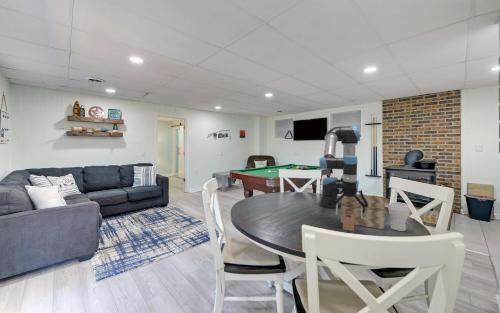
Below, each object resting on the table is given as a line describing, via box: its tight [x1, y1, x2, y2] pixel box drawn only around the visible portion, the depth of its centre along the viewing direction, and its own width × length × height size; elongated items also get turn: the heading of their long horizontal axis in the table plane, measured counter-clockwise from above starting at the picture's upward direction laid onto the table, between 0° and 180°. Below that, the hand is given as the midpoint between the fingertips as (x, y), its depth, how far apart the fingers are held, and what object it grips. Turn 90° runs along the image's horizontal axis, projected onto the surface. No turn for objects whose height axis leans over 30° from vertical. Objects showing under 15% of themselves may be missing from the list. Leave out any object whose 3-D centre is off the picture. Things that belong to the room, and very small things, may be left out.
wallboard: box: [340, 192, 386, 230], centre depth 136 cm, size 24×5×19 cm, turn 62°
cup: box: [387, 201, 411, 232], centre depth 129 cm, size 11×11×15 cm
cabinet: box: [342, 210, 355, 232], centre depth 131 cm, size 6×10×9 cm, turn 152°
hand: (348, 216), depth 129 cm, fingers open, 13 cm apart
